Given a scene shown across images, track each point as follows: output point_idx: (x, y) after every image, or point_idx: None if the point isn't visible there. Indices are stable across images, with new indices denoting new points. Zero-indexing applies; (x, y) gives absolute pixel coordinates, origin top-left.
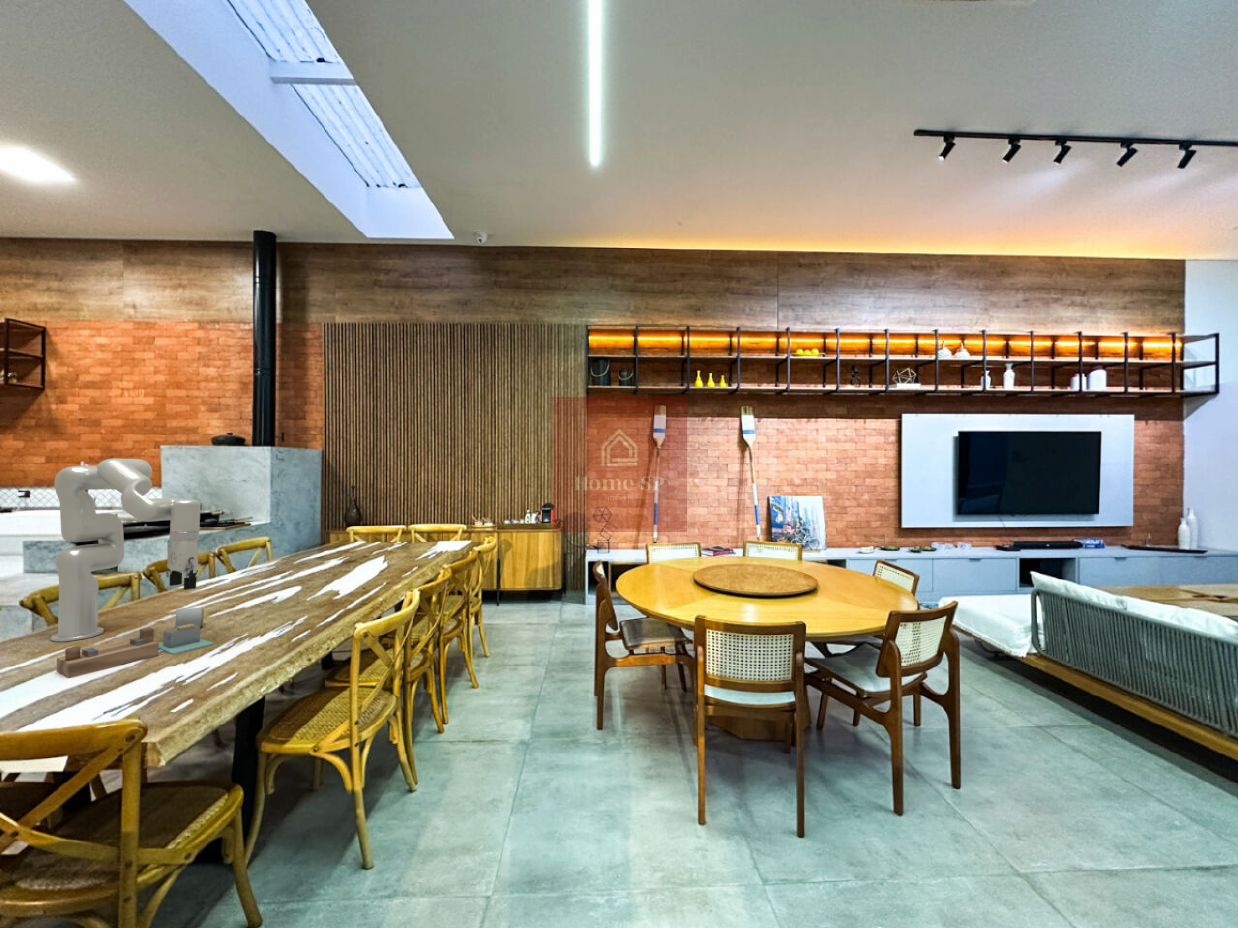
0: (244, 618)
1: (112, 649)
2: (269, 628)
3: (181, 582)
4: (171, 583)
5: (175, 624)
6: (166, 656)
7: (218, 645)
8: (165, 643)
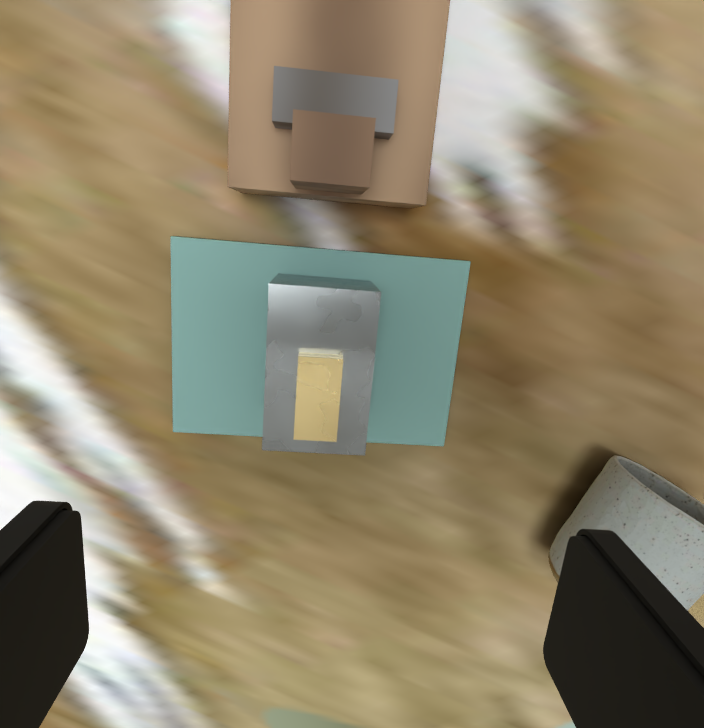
0: (507, 708)
1: None
2: (212, 680)
3: (552, 678)
4: (590, 562)
5: (618, 465)
6: (179, 204)
7: (136, 431)
8: (345, 280)
